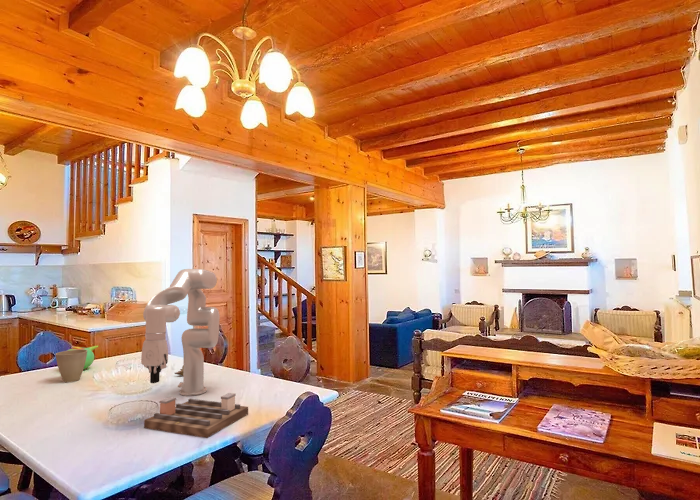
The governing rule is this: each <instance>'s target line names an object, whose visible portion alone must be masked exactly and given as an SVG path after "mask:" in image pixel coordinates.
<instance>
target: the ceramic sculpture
mask: <svg viewBox="0 0 700 500" xmlns="http://www.w3.org/2000/svg"><path fill="white" fill-rule="evenodd" d="M174 374H175V375H178V376H183V366H182V367H181V368H180V370H179V371H176V372H174Z"/></svg>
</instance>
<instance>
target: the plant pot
mask: <svg viewBox="0 0 700 500" xmlns="http://www.w3.org/2000/svg"><path fill="white" fill-rule="evenodd" d="M68 350H69V349H68ZM86 356H87V350H69V351H67V350H63V351H59V352H56V353H55V360H56V364H57V369H58V371H59V374H60V377H61V379H62V382H63V383H73V382H78V381H79V380H80V379H81V378H82V374H83V371H84V370H85V369H84V365H85V361H86Z"/></svg>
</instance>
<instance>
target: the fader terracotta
mask: <svg viewBox="0 0 700 500" xmlns="http://www.w3.org/2000/svg"><path fill="white" fill-rule="evenodd" d="M176 400H177V397H174V396H169V397H166V398H163V399H161V400H159V401H158V402H159V413H160V414H167V415H172V414H174V413H175V407H176Z"/></svg>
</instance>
